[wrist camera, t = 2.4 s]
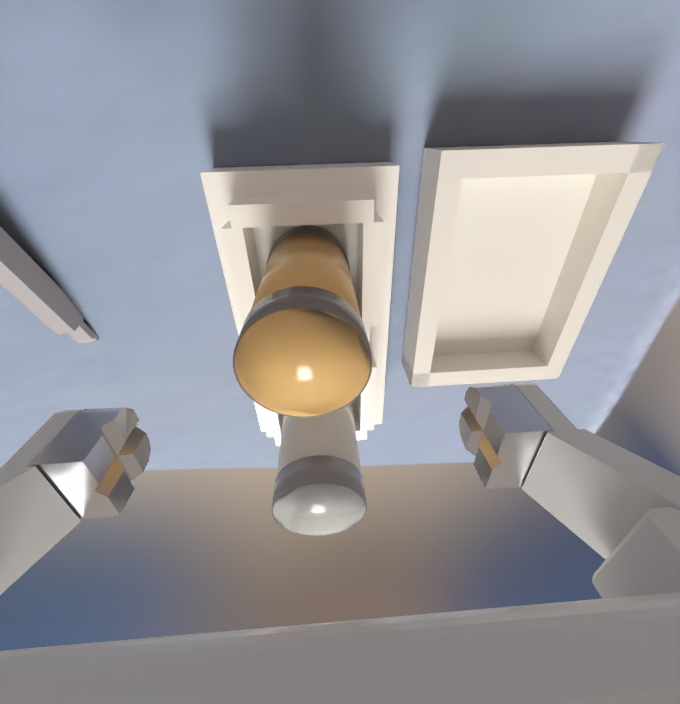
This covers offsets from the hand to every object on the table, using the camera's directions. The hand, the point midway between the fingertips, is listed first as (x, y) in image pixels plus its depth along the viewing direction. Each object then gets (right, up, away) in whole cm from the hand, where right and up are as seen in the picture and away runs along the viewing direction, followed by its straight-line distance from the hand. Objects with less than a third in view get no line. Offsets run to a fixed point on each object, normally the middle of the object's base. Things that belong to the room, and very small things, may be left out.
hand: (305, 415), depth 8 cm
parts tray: (+9, +6, +10) cm, 15 cm away
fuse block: (-1, +4, +11) cm, 11 cm away
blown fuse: (-1, +6, +7) cm, 9 cm away
